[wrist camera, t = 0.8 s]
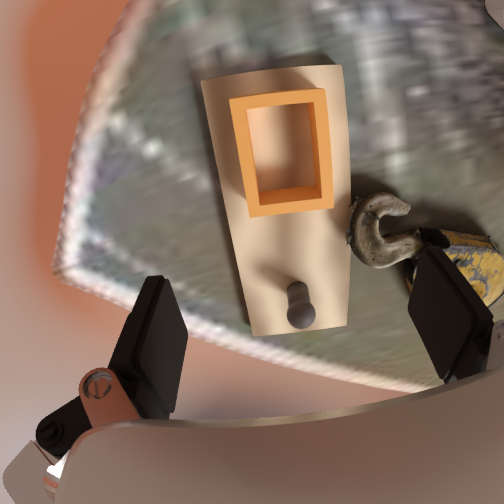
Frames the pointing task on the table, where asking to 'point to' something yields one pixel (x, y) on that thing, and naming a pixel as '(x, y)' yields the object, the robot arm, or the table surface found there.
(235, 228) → the keeper board
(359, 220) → the pulley block
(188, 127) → the table surface
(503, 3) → the photo printer
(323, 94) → the link
